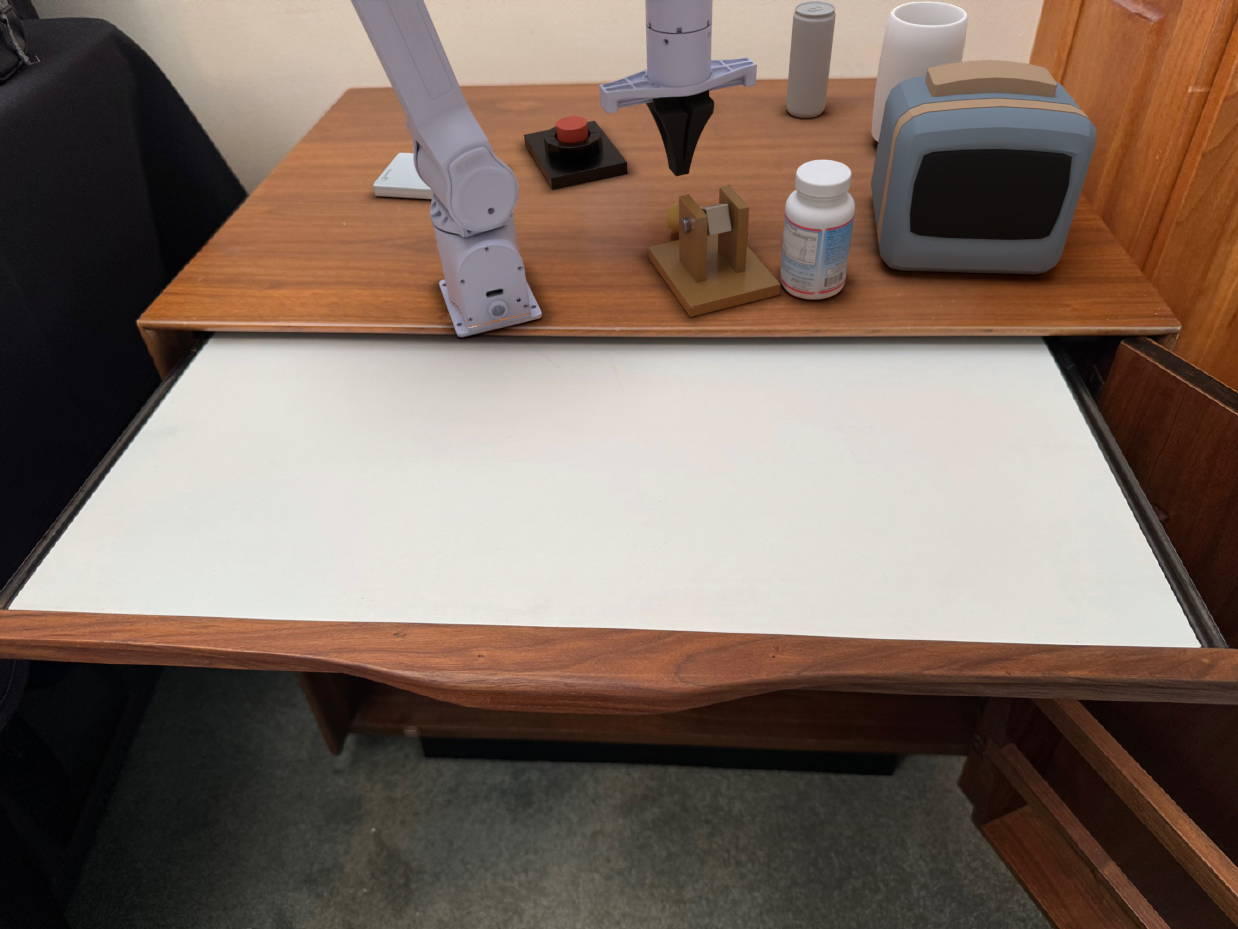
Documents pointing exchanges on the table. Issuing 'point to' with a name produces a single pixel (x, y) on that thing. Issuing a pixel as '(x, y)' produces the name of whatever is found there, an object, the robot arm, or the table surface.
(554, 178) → the button block
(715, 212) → the tap lever
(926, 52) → the cup
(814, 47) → the beverage can
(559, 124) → the button
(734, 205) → the bracket
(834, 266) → the pill bottle
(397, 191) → the hard drive
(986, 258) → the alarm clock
